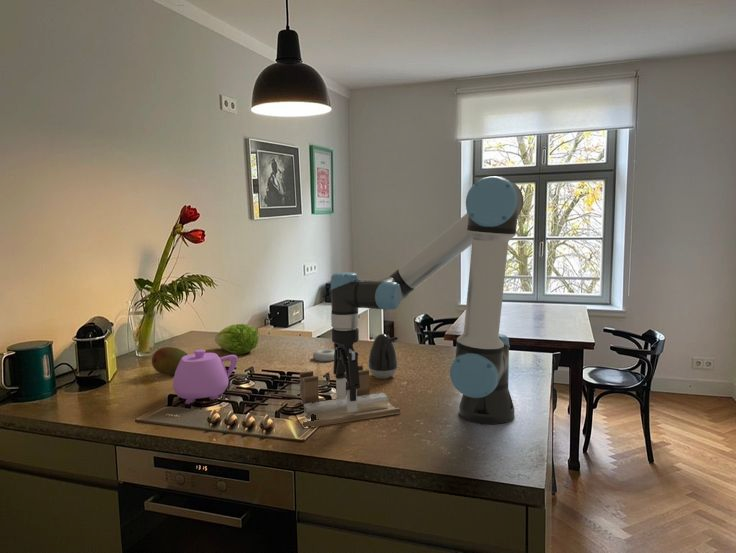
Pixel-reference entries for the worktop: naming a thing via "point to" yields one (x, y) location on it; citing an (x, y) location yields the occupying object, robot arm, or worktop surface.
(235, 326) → the lettuce
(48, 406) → the worktop surface
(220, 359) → the teapot
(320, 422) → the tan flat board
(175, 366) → the fruit
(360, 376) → the cradle posts
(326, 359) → the donut
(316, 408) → the rail
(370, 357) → the pump dispenser
